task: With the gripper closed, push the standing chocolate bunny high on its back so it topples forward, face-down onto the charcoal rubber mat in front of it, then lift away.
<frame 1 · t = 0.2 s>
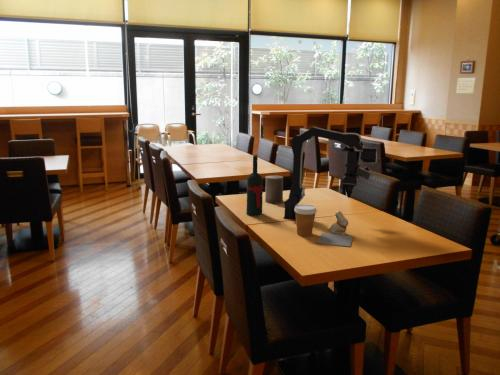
hand: (349, 195, 201), 14 cm above the table, fingers open, 9 cm apart
wine bottle: (255, 214, 217), on the table
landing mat: (335, 240, 181), on the table
pillar candle: (273, 201, 243), on the table
chocolate bunny: (338, 233, 191), on the table
disposable coffee cup: (304, 234, 189), on the table
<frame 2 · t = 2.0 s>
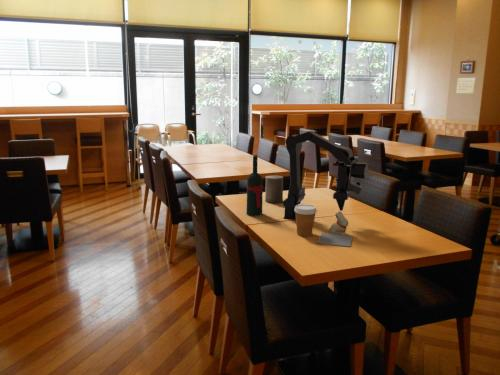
hand: (341, 210, 198), 8 cm above the table, fingers closed
nothing on the table moved.
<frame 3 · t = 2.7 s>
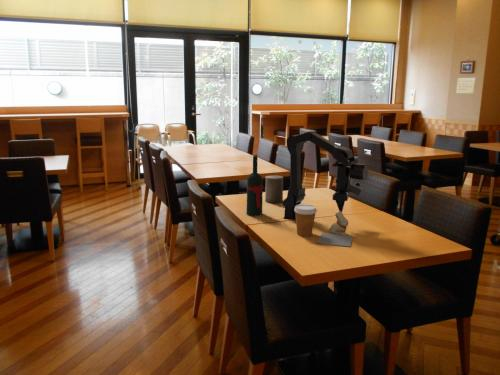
hand: (340, 211, 196), 8 cm above the table, fingers closed
nothing on the table moved.
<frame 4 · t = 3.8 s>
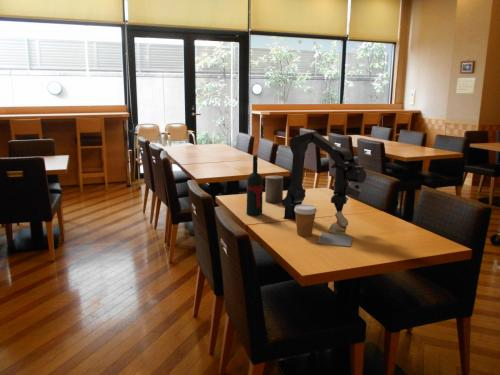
hand: (339, 214, 190), 8 cm above the table, fingers closed
chocolate bunny: (338, 232, 191), on the table, touching gripper
everything else where it was.
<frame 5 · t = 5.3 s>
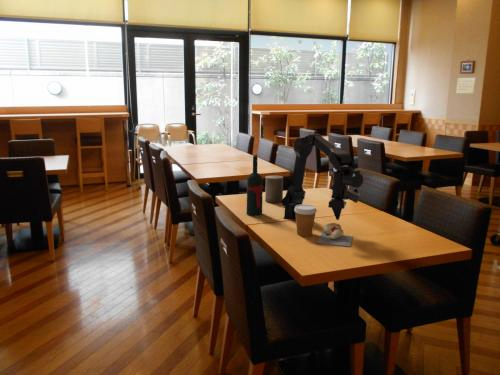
hand: (337, 219, 184), 8 cm above the table, fingers closed
chocolate bunny: (332, 227, 188), point 3 cm above the table, touching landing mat
everything else where it was.
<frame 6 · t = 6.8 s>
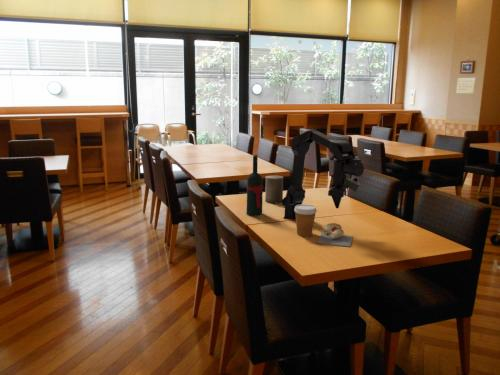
hand: (337, 208, 187), 12 cm above the table, fingers closed
nothing on the table moved.
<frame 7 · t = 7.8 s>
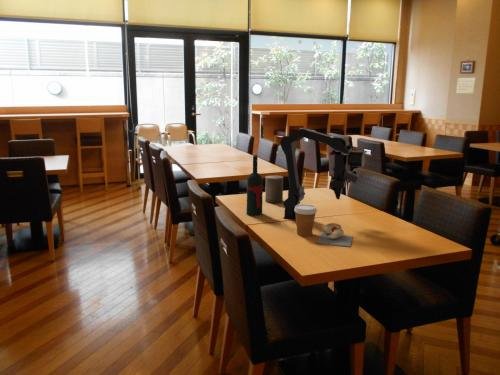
hand: (338, 199, 200), 12 cm above the table, fingers closed
nothing on the table moved.
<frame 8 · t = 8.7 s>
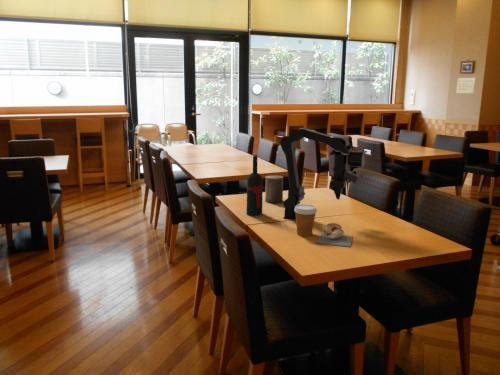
hand: (338, 199, 200), 12 cm above the table, fingers closed
nothing on the table moved.
at the end: chocolate bunny tilted 100°; chocolate bunny inside the target area (4.8 cm from its centre), point 3.1 cm above the table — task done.
